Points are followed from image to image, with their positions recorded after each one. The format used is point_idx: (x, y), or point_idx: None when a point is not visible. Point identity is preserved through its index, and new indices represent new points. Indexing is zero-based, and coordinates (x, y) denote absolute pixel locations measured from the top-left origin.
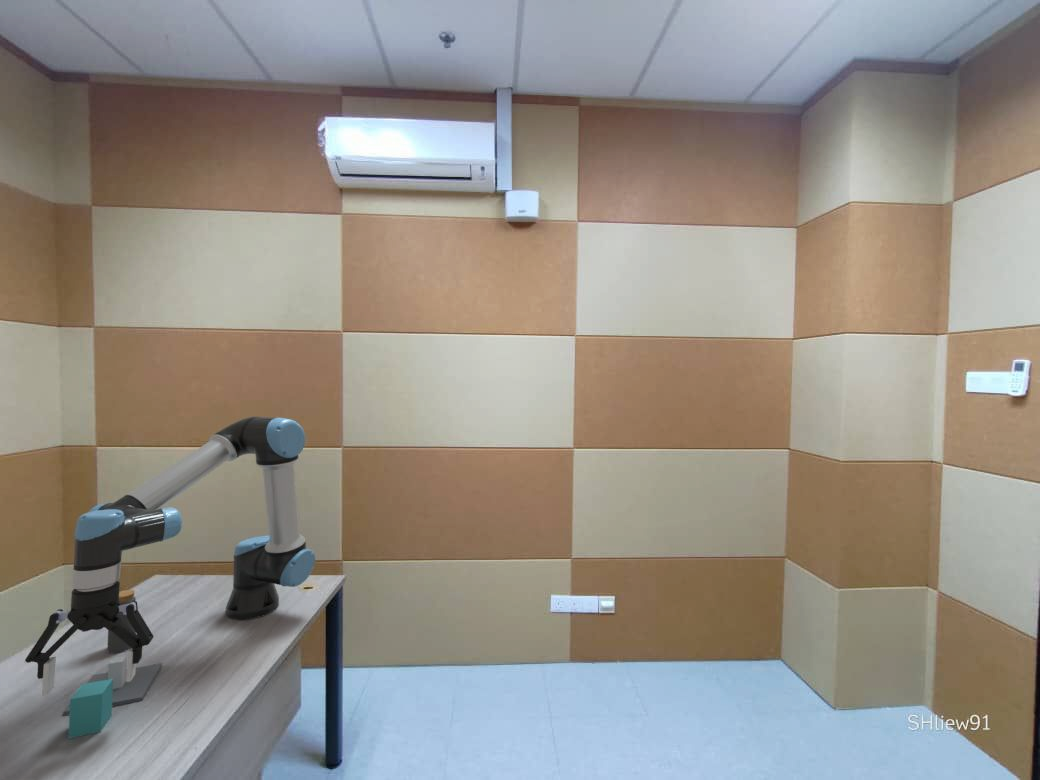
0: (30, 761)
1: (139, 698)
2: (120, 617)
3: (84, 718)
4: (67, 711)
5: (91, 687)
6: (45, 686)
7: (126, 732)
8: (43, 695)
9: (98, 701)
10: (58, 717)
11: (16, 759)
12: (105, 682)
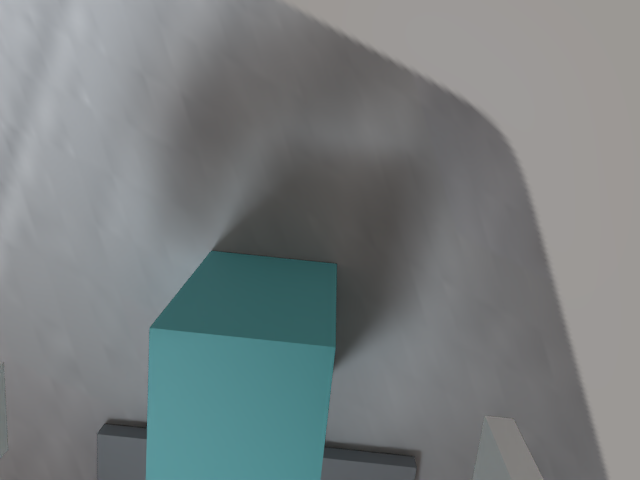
0: (442, 156)
1: (111, 432)
2: None
3: (268, 285)
4: (398, 464)
5: (246, 437)
6: (516, 463)
7: (92, 187)
8: (505, 422)
9: (185, 310)
10: (428, 452)
11: (504, 202)
12: (179, 462)
